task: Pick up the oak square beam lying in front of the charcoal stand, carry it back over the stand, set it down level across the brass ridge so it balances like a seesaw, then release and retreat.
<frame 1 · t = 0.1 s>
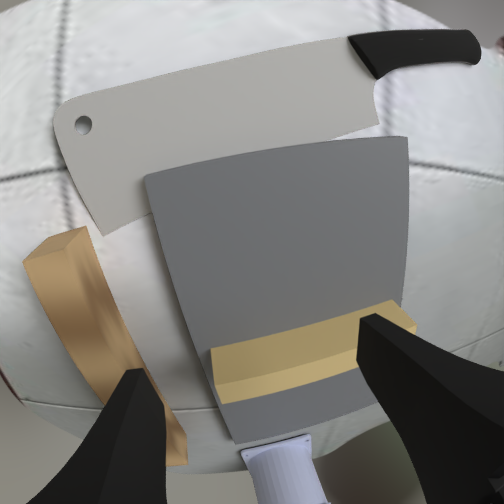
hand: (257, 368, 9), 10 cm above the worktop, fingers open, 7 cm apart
ridge stand: (304, 327, 22), on the worktop
kitchen cleaver: (322, 92, 16), on the worktop
oak beam: (126, 361, 21), on the worktop
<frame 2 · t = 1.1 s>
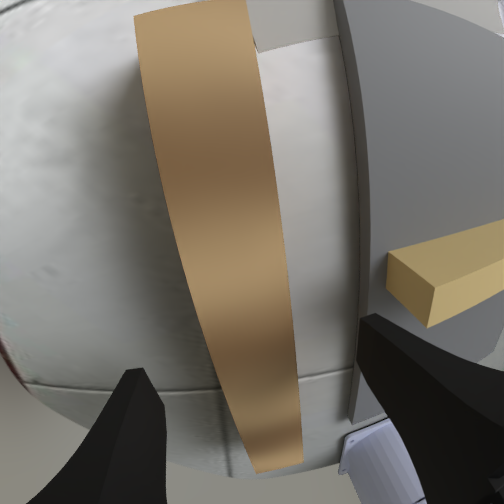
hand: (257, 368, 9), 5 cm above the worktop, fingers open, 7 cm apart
ridge stand: (465, 236, 15), on the worktop
oak beam: (237, 291, 14), on the worktop
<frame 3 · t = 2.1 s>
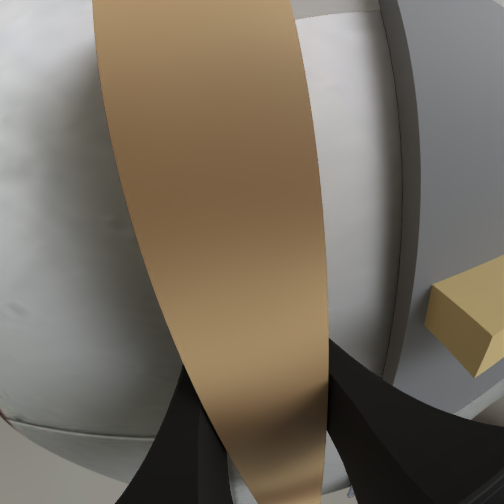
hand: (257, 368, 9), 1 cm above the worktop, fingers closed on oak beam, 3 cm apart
ridge stand: (503, 256, 12), on the worktop
oak beam: (249, 337, 11), on the worktop, touching gripper
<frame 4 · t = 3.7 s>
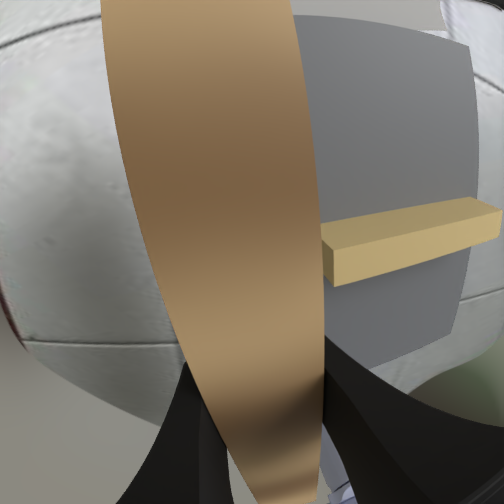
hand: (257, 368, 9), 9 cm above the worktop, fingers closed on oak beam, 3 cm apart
ridge stand: (397, 217, 19), on the worktop
oak beam: (247, 331, 11), point 7 cm above the worktop, touching gripper
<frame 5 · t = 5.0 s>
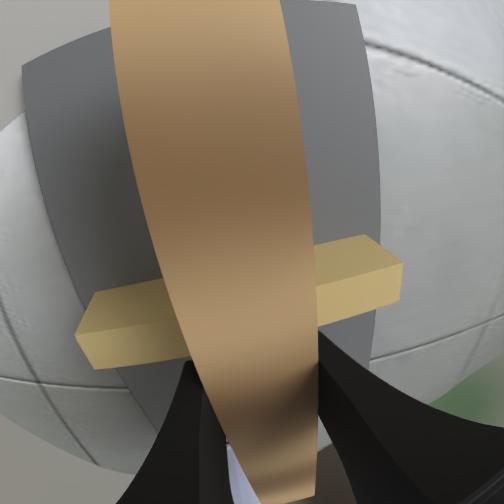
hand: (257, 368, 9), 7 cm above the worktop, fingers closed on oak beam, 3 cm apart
ridge stand: (231, 272, 15), on the worktop
oak beam: (245, 325, 11), point 5 cm above the worktop, touching gripper, ridge stand
when the fingers open (7 cm above the worktop, at t = 5.5 s): oak beam stays where it is, resting on ridge stand.
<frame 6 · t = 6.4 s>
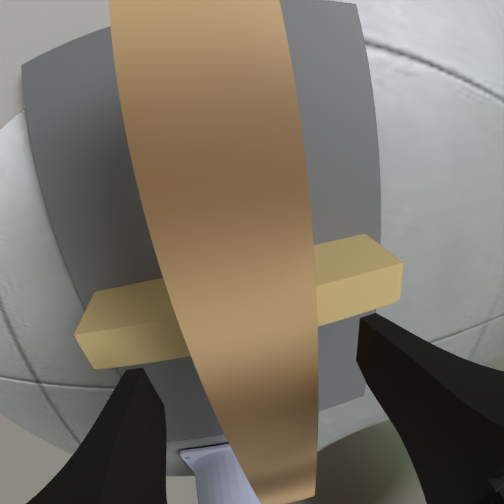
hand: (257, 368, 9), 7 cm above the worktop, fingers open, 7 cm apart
ridge stand: (231, 272, 15), on the worktop
oak beam: (245, 325, 11), point 4 cm above the worktop, touching ridge stand
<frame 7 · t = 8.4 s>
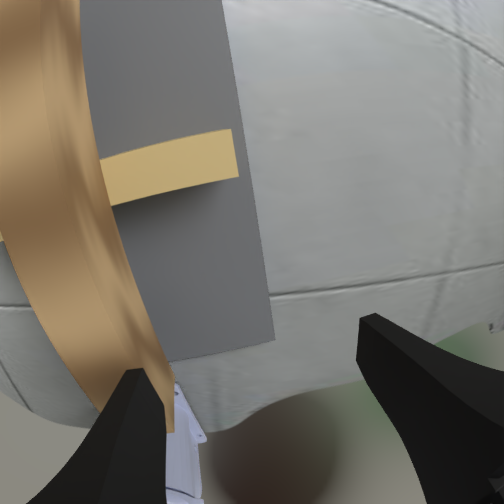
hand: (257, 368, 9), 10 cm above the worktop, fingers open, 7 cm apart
ridge stand: (104, 175, 15), on the worktop
oak beam: (75, 192, 11), point 4 cm above the worktop, touching ridge stand
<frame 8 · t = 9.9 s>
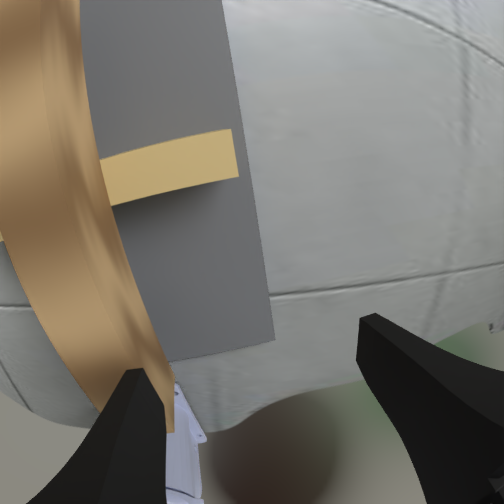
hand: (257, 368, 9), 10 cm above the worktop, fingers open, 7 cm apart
ridge stand: (104, 175, 15), on the worktop
oak beam: (75, 192, 11), point 4 cm above the worktop, touching ridge stand
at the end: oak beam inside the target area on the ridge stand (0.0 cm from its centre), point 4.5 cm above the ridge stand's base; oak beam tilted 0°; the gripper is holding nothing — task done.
